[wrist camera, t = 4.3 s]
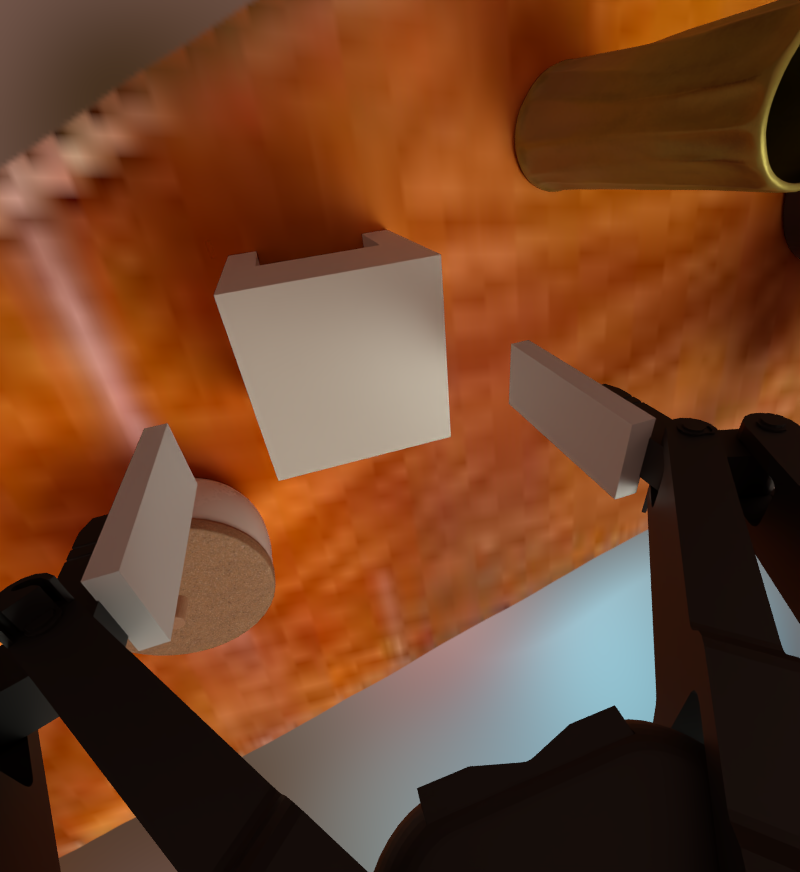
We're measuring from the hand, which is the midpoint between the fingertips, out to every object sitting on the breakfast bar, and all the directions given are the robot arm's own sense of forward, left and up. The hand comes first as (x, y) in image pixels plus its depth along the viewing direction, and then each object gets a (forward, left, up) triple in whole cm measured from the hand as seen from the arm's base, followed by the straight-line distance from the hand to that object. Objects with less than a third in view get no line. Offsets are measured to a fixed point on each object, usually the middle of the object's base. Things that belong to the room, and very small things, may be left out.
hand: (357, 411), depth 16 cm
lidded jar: (-1, +17, -13) cm, 21 cm away
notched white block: (0, 0, -12) cm, 12 cm away
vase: (-4, -17, -12) cm, 22 cm away
